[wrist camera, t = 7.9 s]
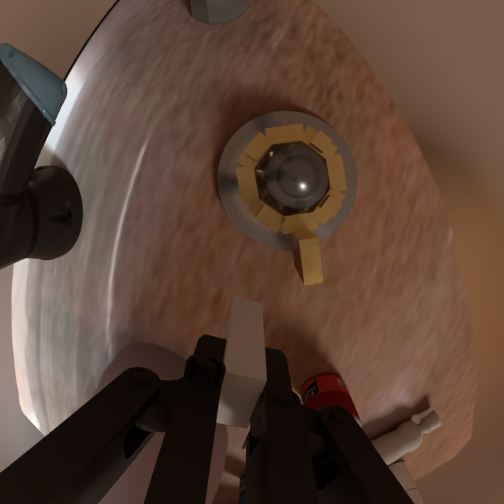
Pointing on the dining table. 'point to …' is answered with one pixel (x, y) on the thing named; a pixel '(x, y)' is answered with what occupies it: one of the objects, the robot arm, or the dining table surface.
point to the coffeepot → (217, 10)
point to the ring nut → (302, 221)
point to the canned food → (327, 394)
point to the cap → (283, 178)
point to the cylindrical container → (406, 481)
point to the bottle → (405, 438)
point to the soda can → (242, 490)
